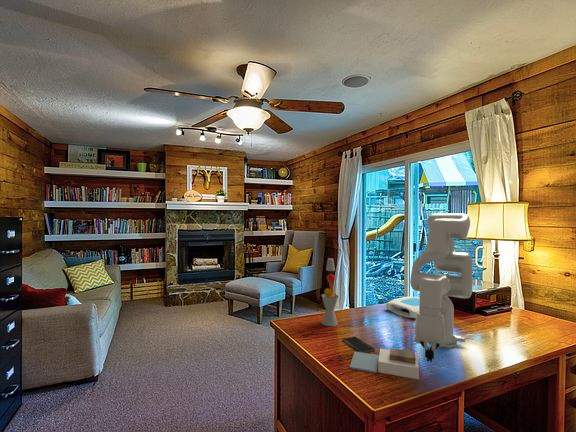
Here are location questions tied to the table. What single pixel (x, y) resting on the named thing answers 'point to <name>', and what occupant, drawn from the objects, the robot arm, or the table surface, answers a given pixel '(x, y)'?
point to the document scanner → (404, 306)
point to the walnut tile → (402, 356)
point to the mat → (364, 362)
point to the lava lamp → (330, 297)
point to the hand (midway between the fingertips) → (429, 359)
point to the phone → (358, 345)
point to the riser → (397, 366)
